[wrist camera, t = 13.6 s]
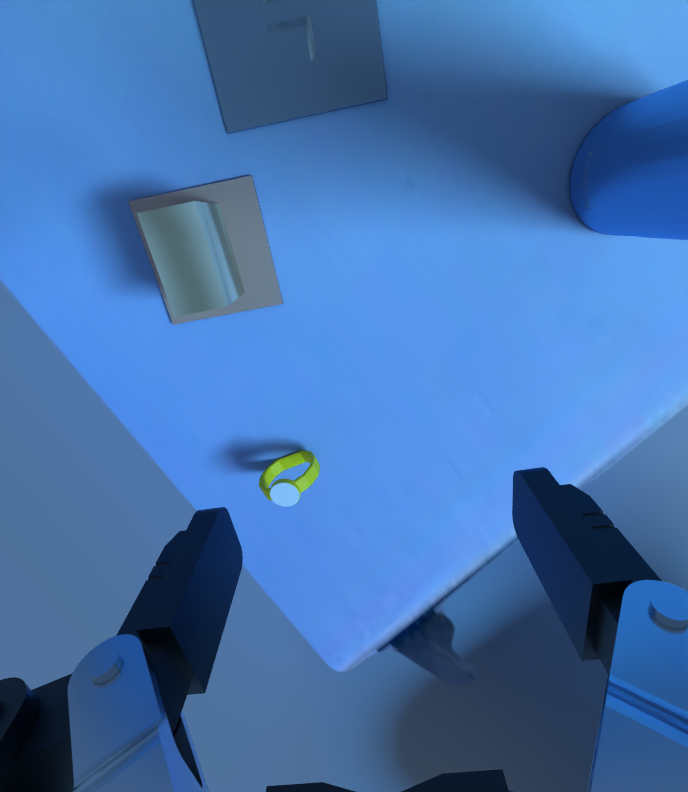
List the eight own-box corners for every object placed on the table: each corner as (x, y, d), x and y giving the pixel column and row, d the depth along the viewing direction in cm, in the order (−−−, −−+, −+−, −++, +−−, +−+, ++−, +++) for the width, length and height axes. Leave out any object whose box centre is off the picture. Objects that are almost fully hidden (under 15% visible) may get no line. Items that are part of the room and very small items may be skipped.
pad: (252, 175, 31) (251, 175, 31) (283, 303, 35) (282, 303, 35) (129, 201, 32) (128, 201, 31) (174, 323, 36) (173, 324, 35)
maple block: (219, 203, 31) (194, 200, 26) (244, 292, 34) (227, 306, 29) (171, 214, 32) (136, 213, 26) (200, 301, 35) (174, 316, 29)
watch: (274, 476, 43) (261, 515, 38) (262, 456, 42) (247, 493, 36) (325, 460, 42) (318, 498, 36) (314, 439, 41) (306, 475, 35)
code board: (359, -138, 24) (360, -141, 24) (386, 98, 29) (387, 98, 29) (171, -89, 25) (169, -92, 25) (228, 133, 30) (227, 133, 30)
